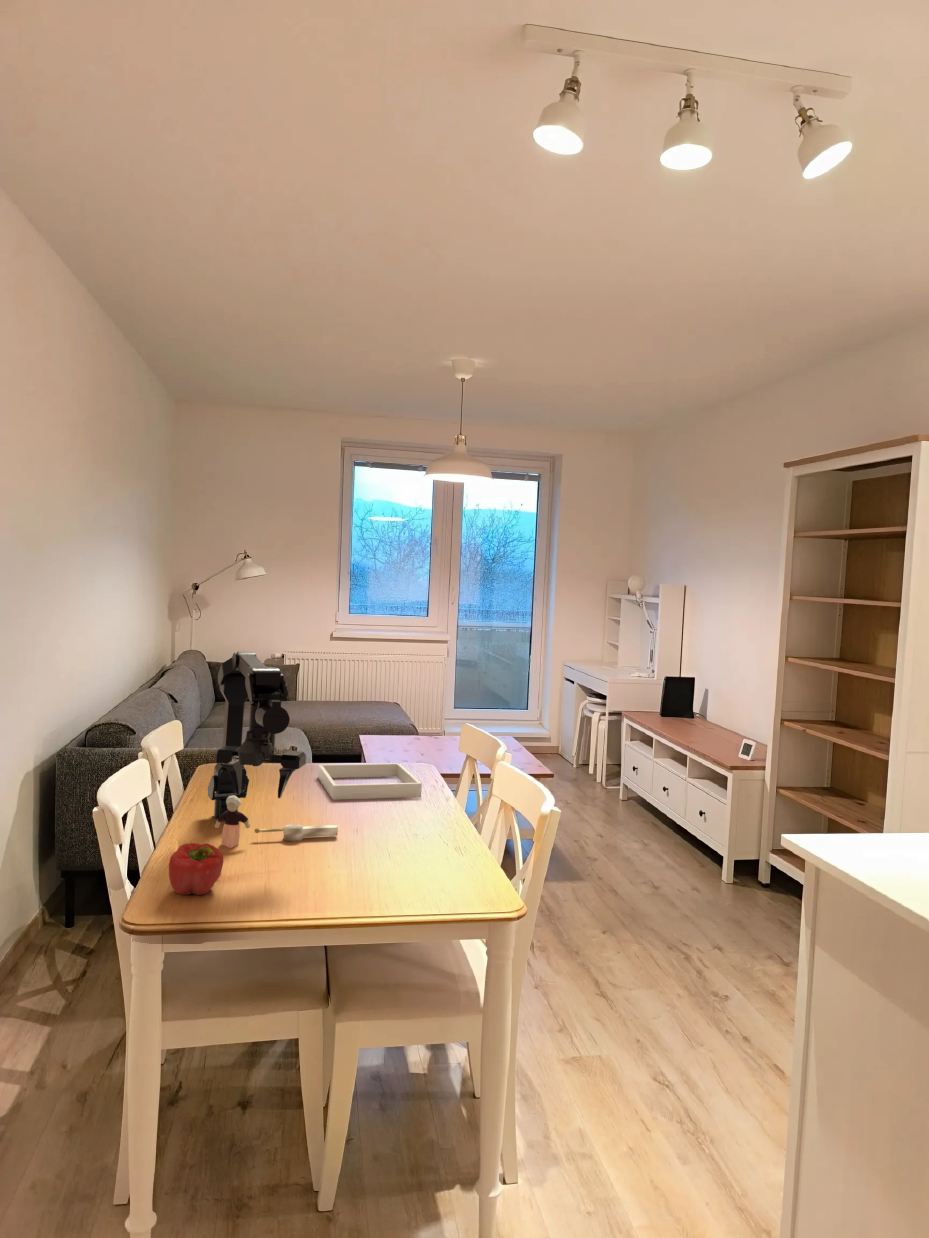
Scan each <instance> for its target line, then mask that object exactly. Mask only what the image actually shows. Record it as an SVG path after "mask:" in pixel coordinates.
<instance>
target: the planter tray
mask: <svg viewBox="0 0 929 1238" xmlns="http://www.w3.org/2000/svg"><path fill="white" fill-rule="evenodd" d="M317 768H318V771H317V772H318V773H317V778H318V780H319V782H320V783H321V784H322V786H323V787H324V789H325V790H326V791H327V793H328V795H329V796H330V798H331V799H332V800H334V801H335V800H336V801H337V800H366V799H367V800H369V799H398V798H399V799H401V798H421V797H422V790H423V789H422V788H423V784H422V782H421V781H420V780H419V779H417V778H416V776H414V775H413V774H412V773H411V772H410V771H408V770H407V769H406V768H405V767H404V766H403V765H402V764H401V763H400V762H399V763H390V762H389V763H343V764H342V763H340V764H339V763H337V764H334V763H333V764H318V767H317ZM382 776H392V777H396V778H398V779H399V781H401V782H399V783H398V782H395V783H392V782H391V783H352V784H351V783H350V784H346V783H345V784H337V783H336V782H335V780H334V779H337V778H338V779H339V778H381V777H382ZM333 778H334V779H333ZM382 778H383V777H382Z"/></svg>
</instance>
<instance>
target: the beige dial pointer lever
mask: <svg viewBox="0 0 929 1238" xmlns="http://www.w3.org/2000/svg"><path fill="white" fill-rule="evenodd" d="M273 832H283V840H284V841H286V842H292V843H293V842H294V843H295V842H300V841H302V840H303V839H304V838H313V837H314V838H315V837H317V838H318V837H337V836H338V832H339V827H338V825H337V824H335V825H333V824H332V825H331V824H330V825H329V824H328V825H307V826H304V825H303V824H299V823H288V824H286V825H284V826H283V827H280V828H276V827H275V828H261V829H260V828H257V827H256V828H255V829H254V833H255V834H259V833H273Z"/></svg>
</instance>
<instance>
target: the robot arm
mask: <svg viewBox="0 0 929 1238" xmlns="http://www.w3.org/2000/svg"><path fill="white" fill-rule="evenodd" d="M285 679H286V678H285V677H284V674H283V673H282V671H281V670H280V668H278V667H274V666H266V665H265V664H264V663H263V662H262V660H260V659H259V658H258V657H257V654H256V652H253V651H236V652H233V654H232V656H231V657H230V658H228V659H227V660H225V661H223V662H222V663H221V665H220V667H219V670H218V673H217V682H218V685H219V690H220V693H221V695H222V696H223V698H224V699H225V703H224V719H223V736H222V747H221V748H219V749H217V750H216V752H215V754H214V763H216V764H215V766H214V768H213V775H211V778H210V780H209V783H208V786H207V797H208V798H209V799H210V800H211V801H214V812H213V815H212V816H211V818H216V819H218V818H219V817H220V815H221V814H222V813H223V812H225V811H228V809H227V804H226V800H227V798H228V797H229V796H234V795H235V796H236V797H238V798H239V799H245V798H246V797H247V795H248V787H249V784H250V779H249V778H248V774H247V770H246V768H245V766H253V767H260V766H261V765H262V764H263V762H265V763H267V762H268V763H279V764H280V765H281V768H279V769H278V771H279V780H278V782H279V783H278V788H277V799H281V798H282V796H283V793H284V791H285V789H286V786H287V784H288V782H289V779H290V778H291V776H292V774H293V773H294V772H295V771H297V770H299V769H301V768H303V766H305V765H306V764H307V763H306V760H307V756H306V753H305V752H304V751H301V750H300V751H298V750H287V751H286V752H284V753H276V752H277V746H276V735H278V734H281V733H282V732H284V731H285V730H287V728H288V726H289V724H290V716H289V715H290V714H289V712H288V711H287V710H286V709H285V708H284V707H282V702H288V695H289V690H288V687H287V682H286V680H285ZM247 700H248V701H249V702H250V704H249V717H248V720H249V721H248V722H249V723H248V730H247V731H246V735H245V740H244V741H243V731H244V729H243V728H244V715H245V714H244V713H245V703H246V702H247ZM236 811H239V808H238V809H237V810H236Z"/></svg>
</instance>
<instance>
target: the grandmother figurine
mask: <svg viewBox="0 0 929 1238" xmlns="http://www.w3.org/2000/svg"><path fill="white" fill-rule="evenodd" d="M240 799H241V798H238V797H236V796H235V795H234V796H229V797H228V798H227V800H226V804H227V809H228V811H225V812H223V813H222V814H221V815H220V817H219V818H216V819H217V820H216V822H215V824H214V828H215V829H218V828H220V826H221V823H224V824H223V826H222V831H221V833H222V834H221V840H220V841H221V843H220V844H221V846H225V847H227V848H234V847H236V846H239V845H240V837H241V835H240V834H241V833H240V832H241V830H240V827H241V826H240V822H241V823H242V824H244V826H245V828H246V829H249V828H251V825H250V824H249V822H250V821H249V818H248V817H247V815H245V814H244V813H242V811H241V812H240V811H239V807H240V806H242V802H241V800H240ZM237 809H238V811H236V810H237Z"/></svg>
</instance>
